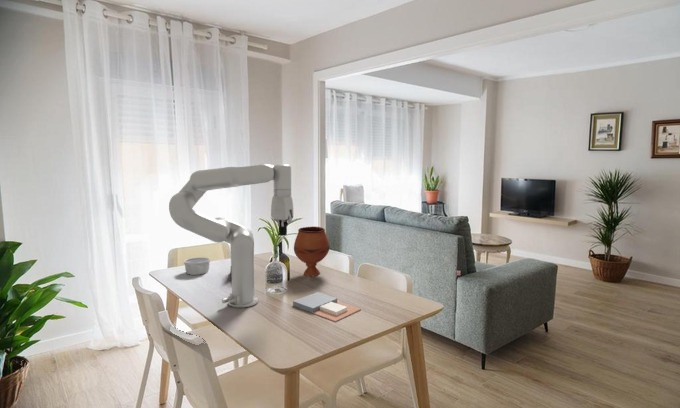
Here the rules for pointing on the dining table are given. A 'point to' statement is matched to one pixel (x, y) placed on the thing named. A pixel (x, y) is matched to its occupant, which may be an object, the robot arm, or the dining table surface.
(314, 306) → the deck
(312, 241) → the goblet
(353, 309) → the mat
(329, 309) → the ceramic tile
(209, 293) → the dining table surface
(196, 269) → the ramekin
